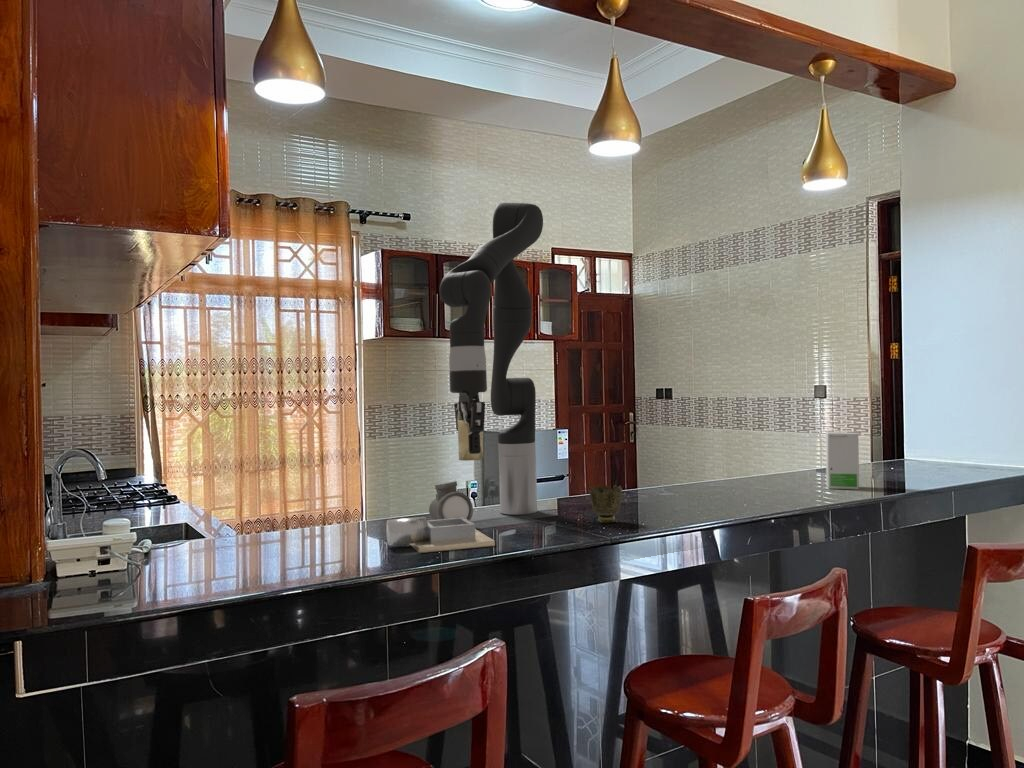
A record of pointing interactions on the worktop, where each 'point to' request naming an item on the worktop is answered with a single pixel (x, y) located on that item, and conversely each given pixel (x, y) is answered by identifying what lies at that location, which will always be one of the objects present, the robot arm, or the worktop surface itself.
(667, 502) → the worktop surface
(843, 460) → the skincare box
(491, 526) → the worktop surface
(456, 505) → the pipe fitting
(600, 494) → the cup
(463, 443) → the brass cylinder plug
